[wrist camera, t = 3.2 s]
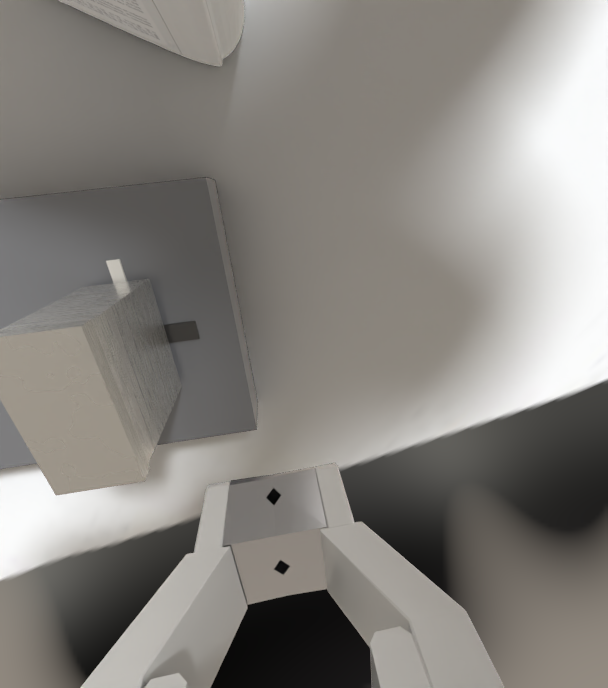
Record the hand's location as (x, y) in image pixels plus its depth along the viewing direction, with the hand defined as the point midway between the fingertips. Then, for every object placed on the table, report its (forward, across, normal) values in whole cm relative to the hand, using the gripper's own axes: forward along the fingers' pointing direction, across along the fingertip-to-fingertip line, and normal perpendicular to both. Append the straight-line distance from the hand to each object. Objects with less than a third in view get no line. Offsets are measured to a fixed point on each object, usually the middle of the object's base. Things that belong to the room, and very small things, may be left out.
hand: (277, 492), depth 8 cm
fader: (+11, +7, -1) cm, 13 cm away
